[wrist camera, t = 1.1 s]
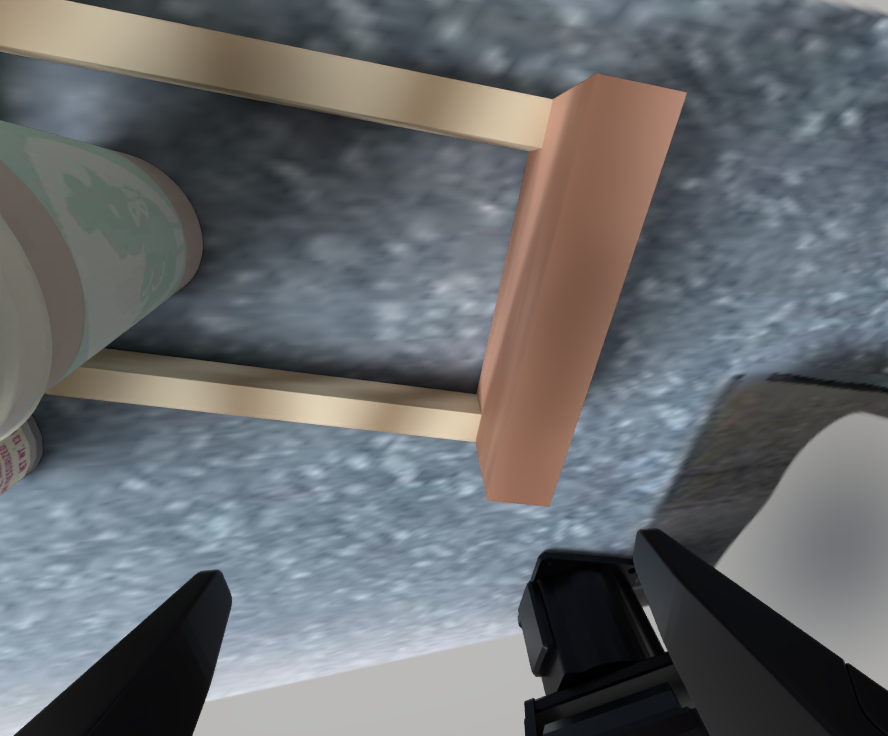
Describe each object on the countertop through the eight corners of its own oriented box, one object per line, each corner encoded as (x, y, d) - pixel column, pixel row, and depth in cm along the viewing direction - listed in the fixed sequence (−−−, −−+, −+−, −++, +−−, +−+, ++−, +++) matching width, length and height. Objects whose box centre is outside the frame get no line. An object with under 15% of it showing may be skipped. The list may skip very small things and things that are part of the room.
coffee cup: (220, 350, 20) (-21, 557, 9) (18, 289, 19) (-565, 452, 8) (254, 162, 17) (-53, 135, 6) (14, 70, 15) (-995, -195, 4)
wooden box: (599, 120, 17) (687, 92, 11) (517, 425, 22) (549, 506, 17) (-132, -26, 14) (-491, -158, 8) (-17, 363, 19) (-188, 435, 14)
